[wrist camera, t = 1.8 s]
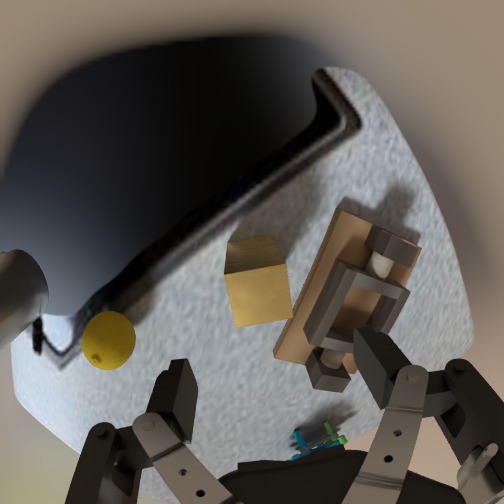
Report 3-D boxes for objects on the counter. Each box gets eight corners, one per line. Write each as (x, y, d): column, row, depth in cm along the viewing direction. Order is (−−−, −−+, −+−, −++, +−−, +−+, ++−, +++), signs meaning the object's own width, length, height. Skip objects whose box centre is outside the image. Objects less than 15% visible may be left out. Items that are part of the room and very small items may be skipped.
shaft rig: (272, 351, 31) (279, 384, 26) (336, 208, 27) (360, 218, 22) (350, 367, 33) (366, 397, 27) (414, 244, 29) (445, 260, 23)
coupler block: (235, 281, 29) (236, 328, 20) (227, 242, 28) (223, 274, 19) (276, 274, 29) (293, 317, 20) (270, 234, 28) (286, 263, 19)
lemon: (102, 292, 28) (69, 328, 21) (147, 308, 29) (123, 350, 22) (99, 332, 30) (71, 371, 22) (140, 347, 31) (120, 391, 23)
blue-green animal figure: (283, 467, 37) (279, 484, 28) (268, 439, 40) (261, 450, 31) (343, 438, 38) (354, 449, 29) (328, 411, 41) (336, 415, 32)
